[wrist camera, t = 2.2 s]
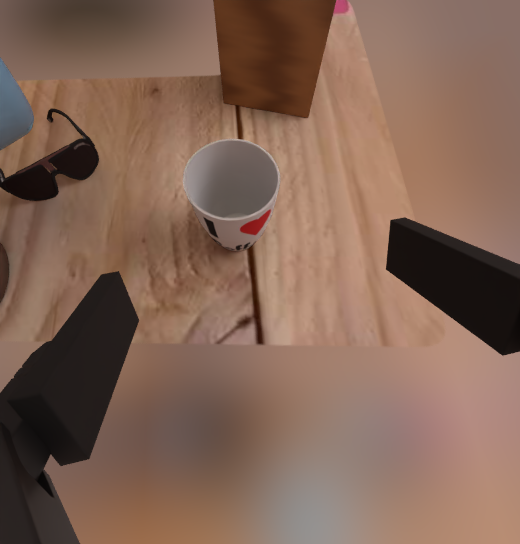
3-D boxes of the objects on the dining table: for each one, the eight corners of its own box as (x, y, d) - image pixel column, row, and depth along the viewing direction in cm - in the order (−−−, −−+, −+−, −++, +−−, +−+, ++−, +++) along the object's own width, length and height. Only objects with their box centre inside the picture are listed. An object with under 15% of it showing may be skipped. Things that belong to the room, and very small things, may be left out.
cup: (202, 265, 31) (181, 222, 22) (202, 202, 34) (183, 139, 24) (273, 261, 32) (284, 218, 22) (268, 200, 34) (276, 137, 25)
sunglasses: (33, 216, 32) (-8, 187, 27) (0, 160, 36) (-40, 126, 31) (113, 170, 34) (88, 135, 30) (74, 121, 38) (47, 84, 34)
